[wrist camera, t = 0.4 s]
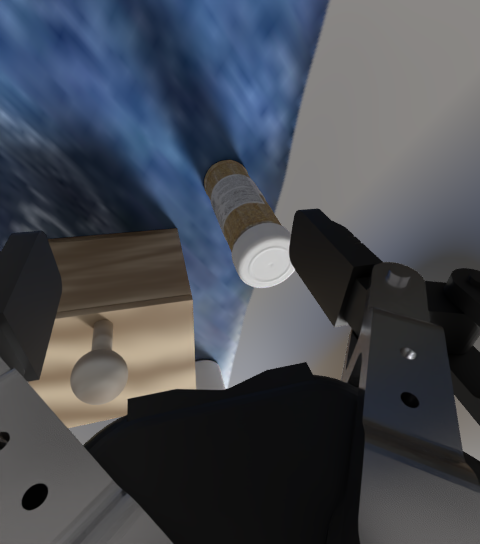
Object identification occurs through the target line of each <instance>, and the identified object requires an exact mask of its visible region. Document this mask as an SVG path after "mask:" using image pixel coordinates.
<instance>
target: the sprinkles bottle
mask: <svg viewBox="0 0 480 544" xmlns="http://www.w3.org/2000/svg"><path fill="white" fill-rule="evenodd" d="M204 187H205V191H206V193H207V195H208V196H209V198H210V200H211V204H212V207H213V210H214V212H215V215H216V217H217V219H218V222H219V224H220V227H221V229H222V232H223V234H224V237H225V239H226V240H227V242H228V244H229V247H230V249H231V252H232V260H233V263H234V266H235V268H236V270H237V272H238V274H239V276H240V278H241V279H242V281H243V282H245V283H246V284H248V285H250V286H252V287H257V288H266V287H271V286H274V285H277V284H279V283H281V282H283V281H284V280H286V279H287V278H288V277H289V276H290V275H291V274H292V273H293V272H294V271H295V269H294V267H293V266H292V264H291V261H290V258H289V245H290V239H291V234H290V232H289V231H288V230H287V229H286V228H284V227H283V226H282V225H281V224H280V222H279V221H278V219H277V218H276V216H275V215H274V213H273V211H272V210H271V208H270V207H269V205H268V203H267V202H266V200H265V198H264V196H263V195H262V193H261V192H260V190H259V189H258V187H257V186H256V184H255V183H254V182H253V181H252V180H251V178H250V177H249V176H248V173H247V170H246V169H245V167H243V165H241V164H240V163H238V162H236V161H232V160H224V161H220V162H217V163H216V164H214V165H212V167H211V168H210V169H209V170H208V172H207V173H206V176H205V179H204Z"/></svg>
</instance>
